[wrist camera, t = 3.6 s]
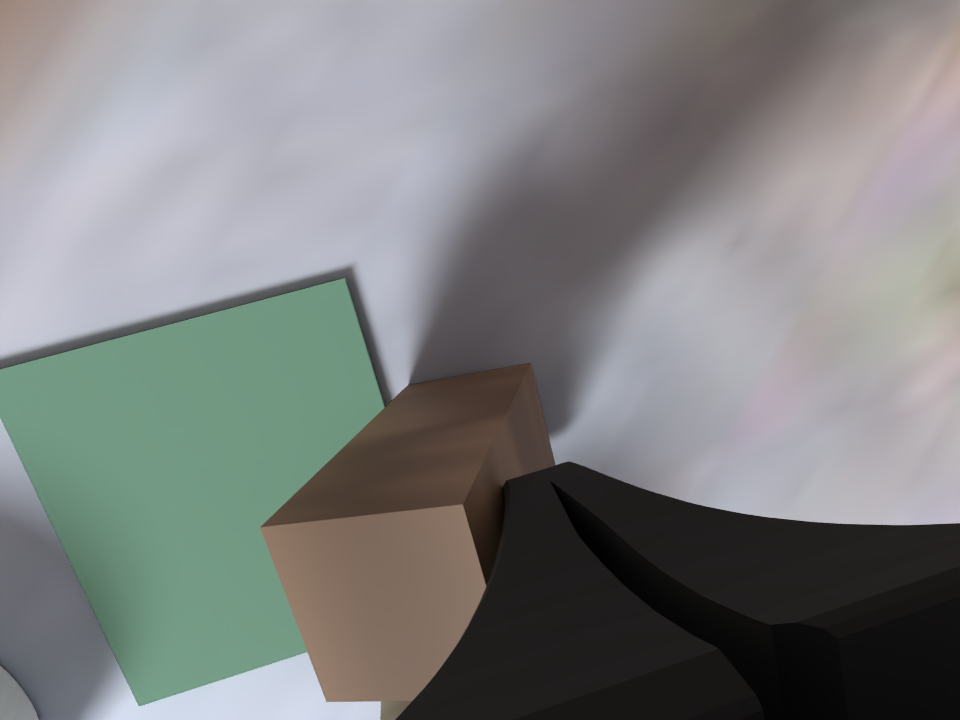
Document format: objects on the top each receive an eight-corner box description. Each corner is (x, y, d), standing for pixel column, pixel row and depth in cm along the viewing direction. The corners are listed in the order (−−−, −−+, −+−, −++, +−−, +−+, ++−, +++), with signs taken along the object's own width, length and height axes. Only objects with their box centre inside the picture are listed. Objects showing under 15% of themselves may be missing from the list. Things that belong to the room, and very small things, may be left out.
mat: (345, 277, 15) (344, 278, 15) (445, 601, 17) (446, 607, 17) (-12, 372, 14) (-21, 374, 14) (143, 697, 16) (138, 706, 16)
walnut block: (531, 362, 15) (463, 504, 8) (559, 483, 16) (518, 699, 9) (407, 385, 16) (259, 527, 9) (441, 497, 17) (326, 701, 10)
